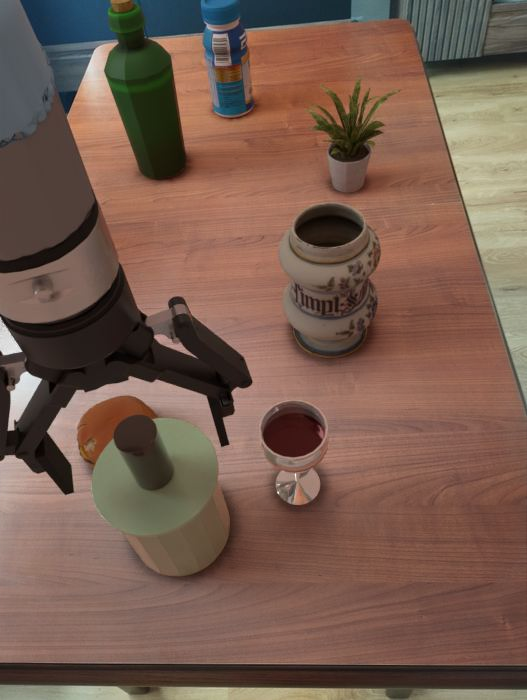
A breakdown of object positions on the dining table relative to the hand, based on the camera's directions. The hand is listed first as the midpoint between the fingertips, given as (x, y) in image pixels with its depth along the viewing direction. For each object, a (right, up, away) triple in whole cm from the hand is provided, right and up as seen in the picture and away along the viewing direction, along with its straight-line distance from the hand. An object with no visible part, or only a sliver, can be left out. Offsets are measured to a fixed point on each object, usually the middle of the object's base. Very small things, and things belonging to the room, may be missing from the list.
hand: (146, 456), depth 51 cm
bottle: (-8, +42, +55) cm, 70 cm away
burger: (-7, -2, +20) cm, 21 cm away
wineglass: (+14, -6, +15) cm, 21 cm away
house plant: (+25, +38, +48) cm, 66 cm away
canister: (+1, -10, +13) cm, 16 cm away
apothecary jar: (+19, +12, +28) cm, 36 cm away
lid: (0, -2, +3) cm, 3 cm away
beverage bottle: (+4, +57, +66) cm, 87 cm away
